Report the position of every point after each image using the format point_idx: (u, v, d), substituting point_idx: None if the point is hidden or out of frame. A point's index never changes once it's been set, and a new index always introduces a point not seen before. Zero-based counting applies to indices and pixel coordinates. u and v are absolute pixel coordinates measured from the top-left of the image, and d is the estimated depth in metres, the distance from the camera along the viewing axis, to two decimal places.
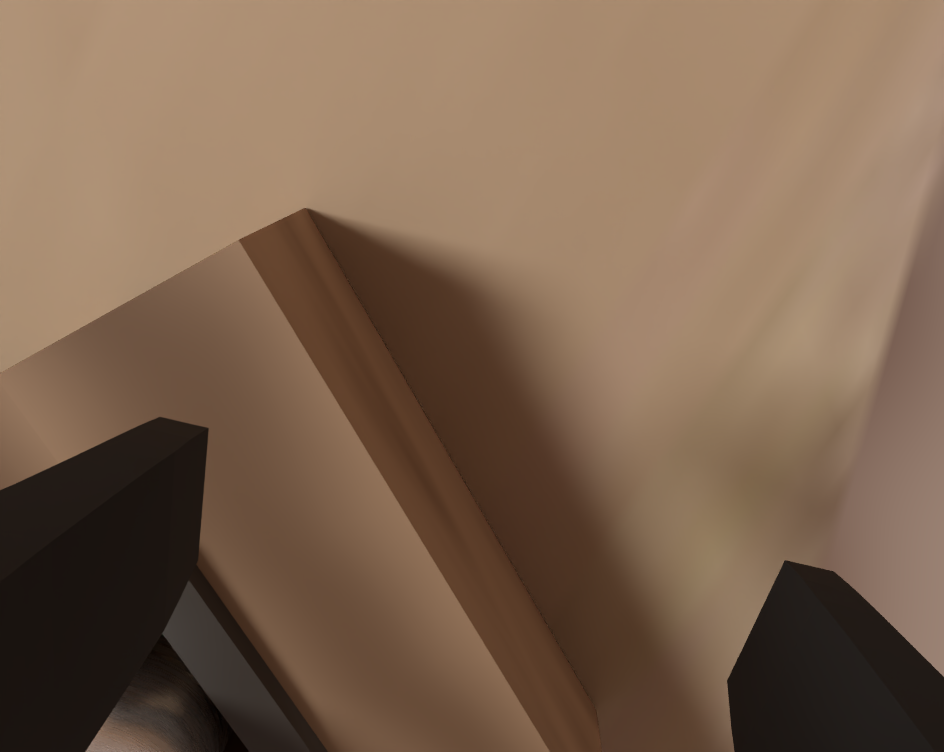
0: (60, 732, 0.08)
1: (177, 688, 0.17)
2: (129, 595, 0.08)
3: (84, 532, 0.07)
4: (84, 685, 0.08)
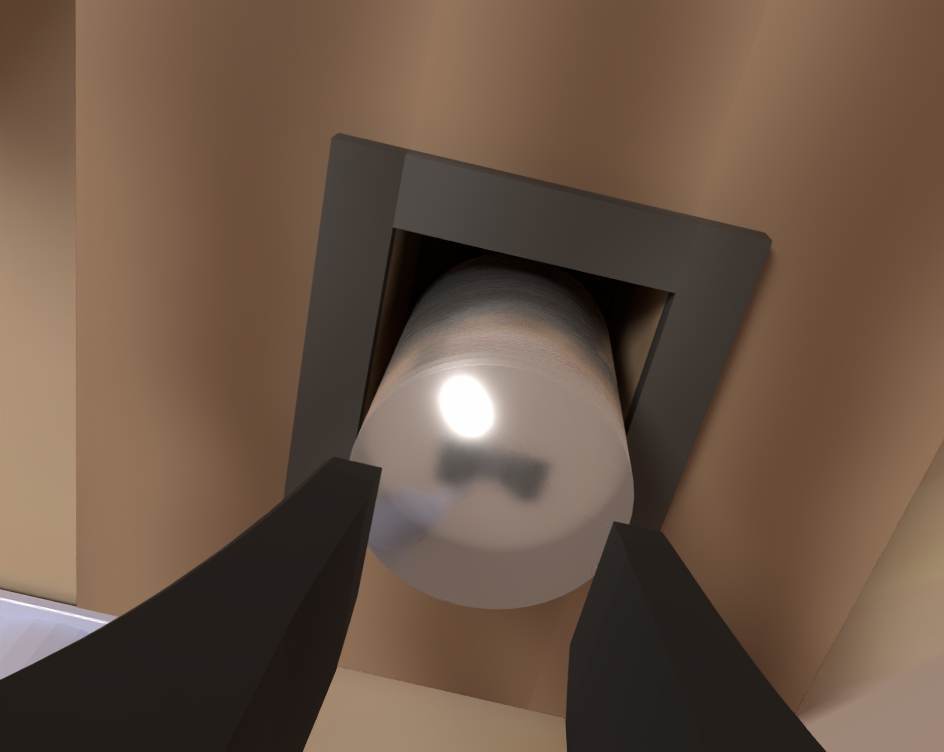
0: None
1: (614, 375, 0.14)
2: (326, 640, 0.08)
3: (317, 585, 0.07)
4: (293, 732, 0.08)
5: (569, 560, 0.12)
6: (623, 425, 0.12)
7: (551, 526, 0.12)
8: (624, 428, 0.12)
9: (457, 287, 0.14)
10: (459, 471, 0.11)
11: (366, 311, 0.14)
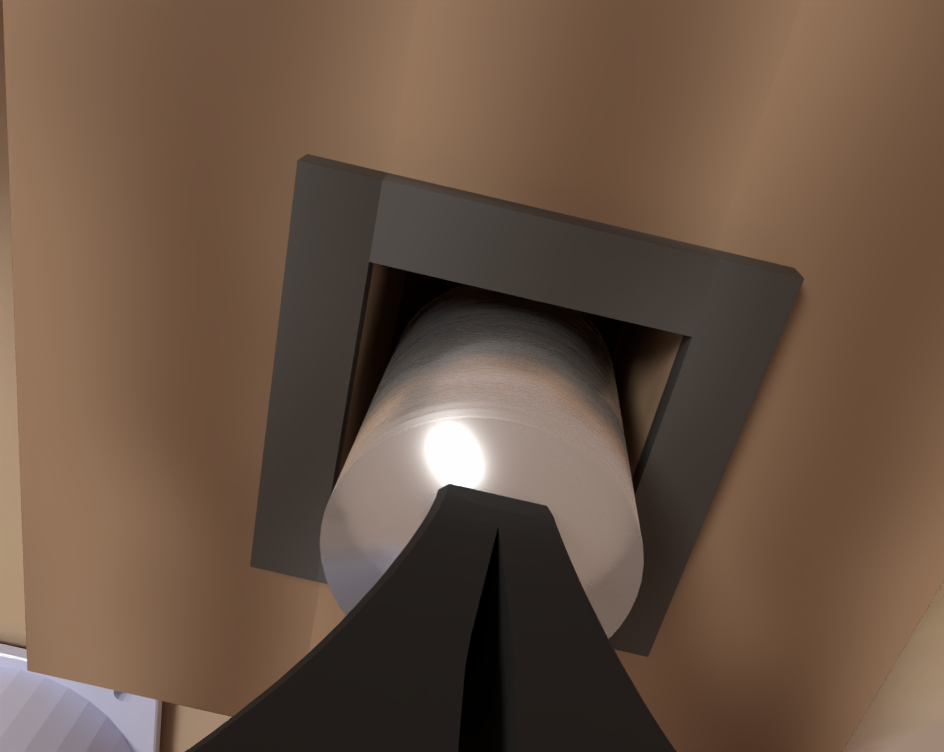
0: None
1: None
2: None
3: None
4: None
5: None
6: (630, 478, 0.11)
7: None
8: (631, 480, 0.11)
9: (446, 318, 0.13)
10: None
11: (340, 355, 0.12)
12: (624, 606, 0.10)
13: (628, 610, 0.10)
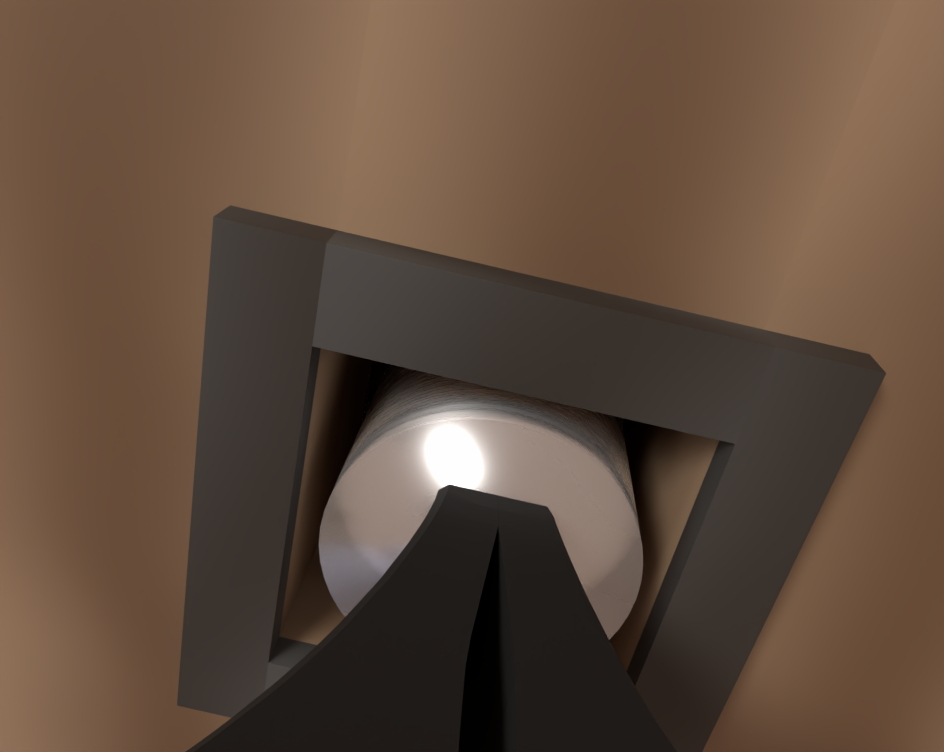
0: None
1: None
2: None
3: None
4: None
5: None
6: (630, 479, 0.11)
7: None
8: (631, 481, 0.11)
9: None
10: None
11: (278, 461, 0.10)
12: (624, 608, 0.10)
13: (628, 612, 0.10)
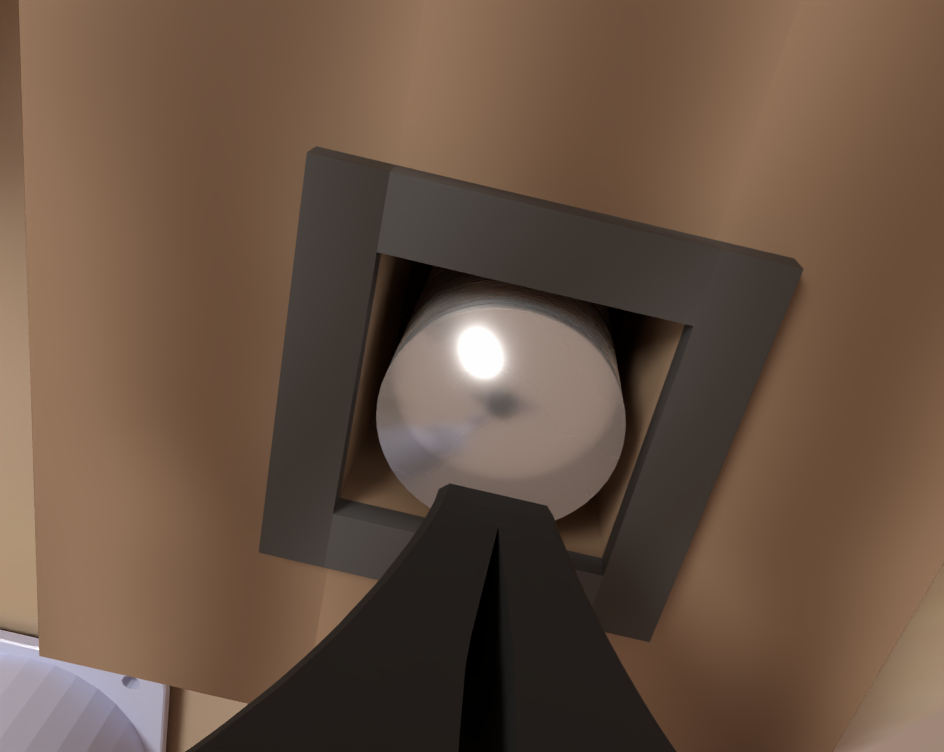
0: None
1: None
2: None
3: None
4: None
5: (569, 484, 0.13)
6: (617, 367, 0.14)
7: (554, 453, 0.13)
8: None
9: None
10: (475, 404, 0.13)
11: (347, 344, 0.13)
12: (611, 462, 0.13)
13: (614, 465, 0.13)
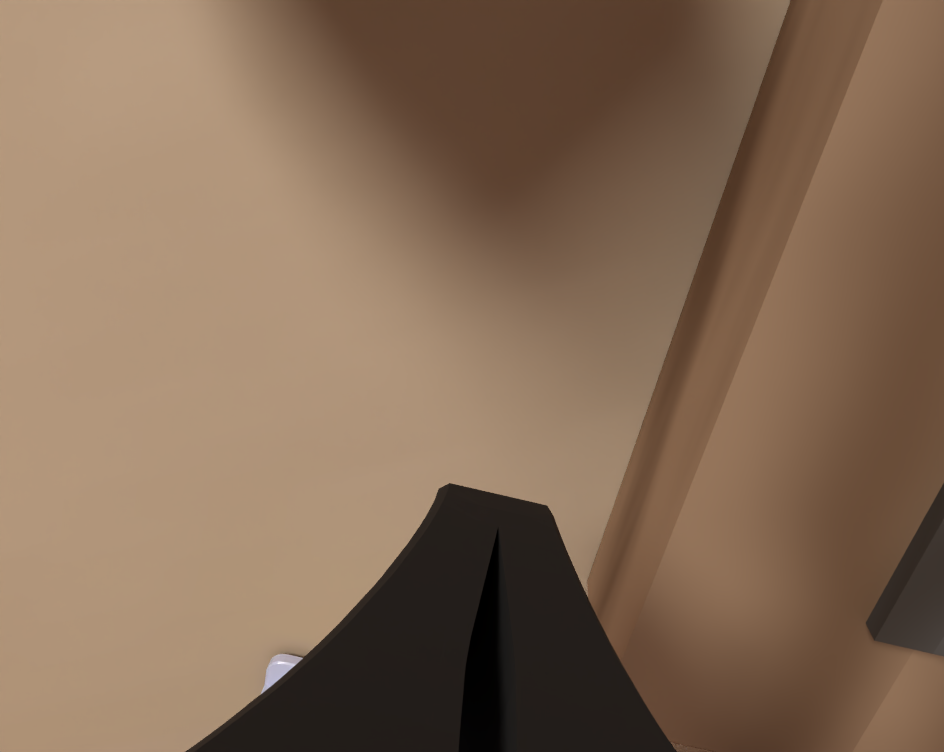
0: None
1: None
2: None
3: None
4: None
5: None
6: None
7: None
8: None
9: None
10: None
11: None
12: None
13: None
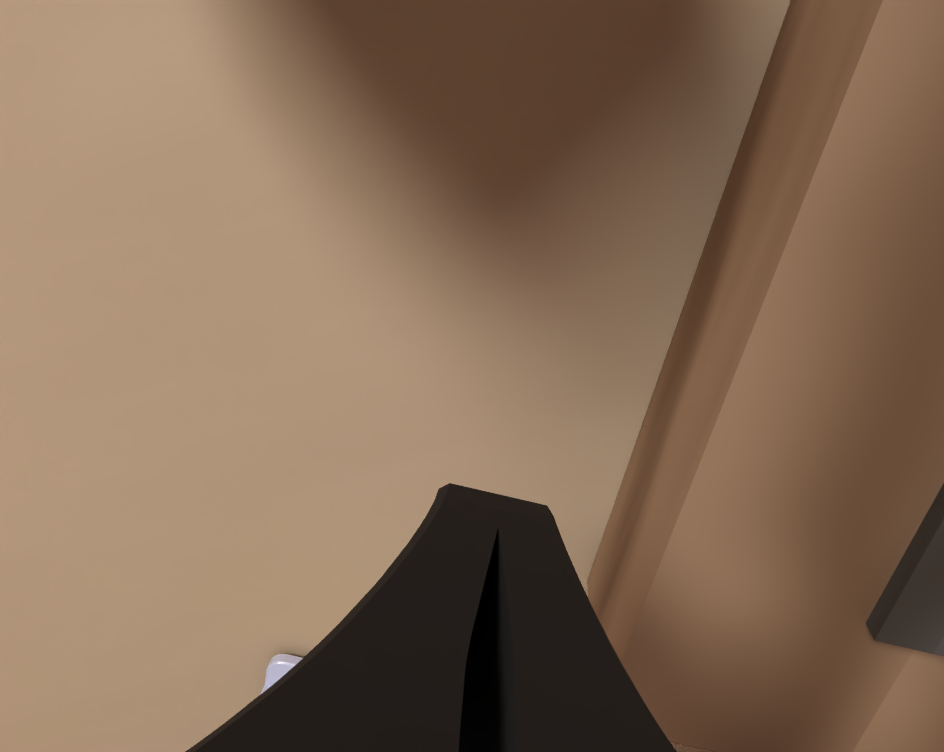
0: None
1: None
2: None
3: None
4: None
5: None
6: None
7: None
8: None
9: None
10: None
11: None
12: None
13: None
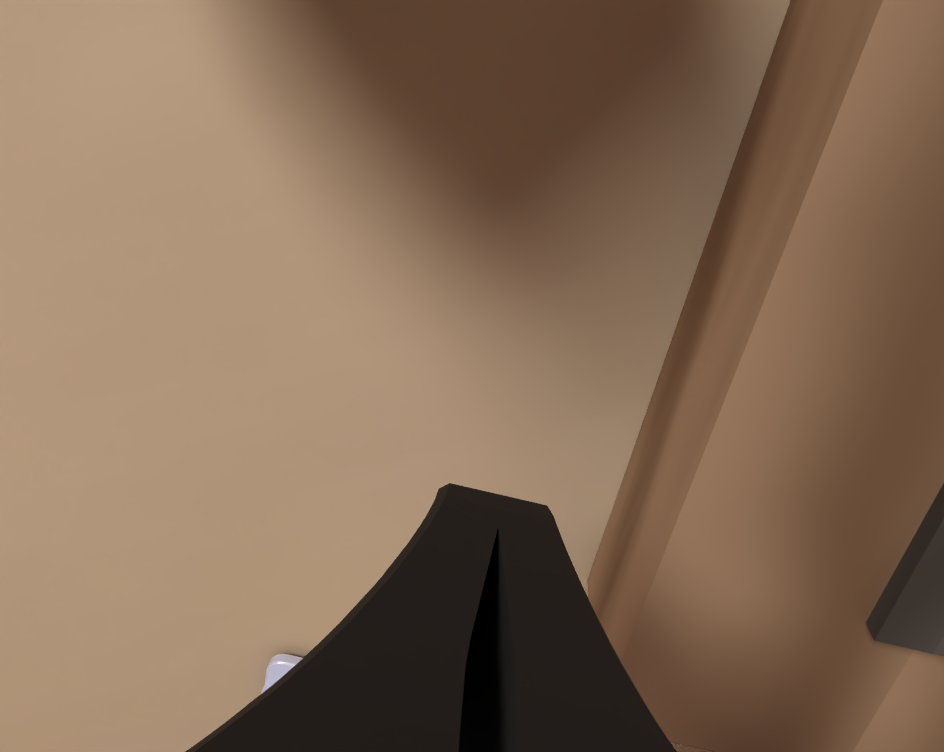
0: None
1: None
2: None
3: None
4: None
5: None
6: None
7: None
8: None
9: None
10: None
11: None
12: None
13: None
